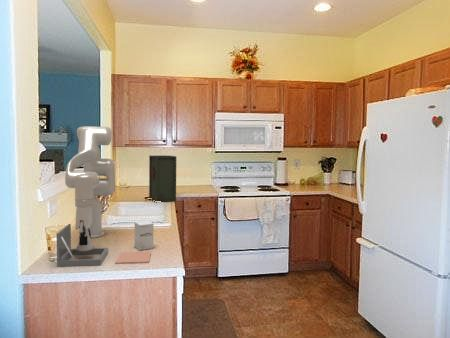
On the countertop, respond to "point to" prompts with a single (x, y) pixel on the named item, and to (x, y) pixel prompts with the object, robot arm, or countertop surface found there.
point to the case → (75, 251)
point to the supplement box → (144, 235)
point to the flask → (86, 247)
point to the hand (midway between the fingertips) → (85, 242)
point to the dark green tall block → (162, 178)
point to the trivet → (133, 257)
